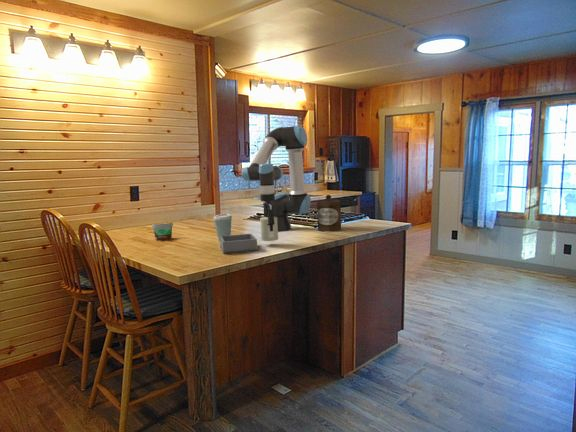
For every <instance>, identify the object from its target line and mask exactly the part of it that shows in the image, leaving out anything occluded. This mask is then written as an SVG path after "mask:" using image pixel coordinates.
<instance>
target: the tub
mask: <svg viewBox="0 0 576 432" xmlns="http://www.w3.org/2000/svg"><path fill="white" fill-rule="evenodd" d="M219 243H220V249H221V251H222V254H223V255H227V254H238V253H239V254H240V253H250V252H252V253H253V252H258V239H257V238H256V237H255V235H254V234H252V233H243V234H241V233H240V234H231V235H228V236H220V241H219Z"/></svg>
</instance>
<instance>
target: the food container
mask: <svg viewBox="0 0 576 432" xmlns="http://www.w3.org/2000/svg"><path fill="white" fill-rule="evenodd" d="M173 226H174V223H173V221H171V222H168V223H163V222H162V223H156V224H155V223H152V224H151V227H152V229H153V234H154V239H155V240H156V241H158V240H162V241H168V240H172V239H171V238H173V236H172V235H173V233H172V232H173Z"/></svg>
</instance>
